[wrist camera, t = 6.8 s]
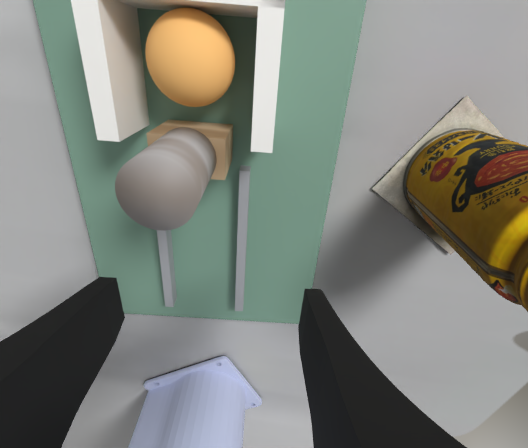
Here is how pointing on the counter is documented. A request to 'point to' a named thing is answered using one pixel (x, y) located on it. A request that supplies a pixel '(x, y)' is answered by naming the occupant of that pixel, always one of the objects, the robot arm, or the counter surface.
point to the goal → (131, 63)
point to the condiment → (469, 196)
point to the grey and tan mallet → (173, 172)
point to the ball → (190, 57)
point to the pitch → (238, 177)
